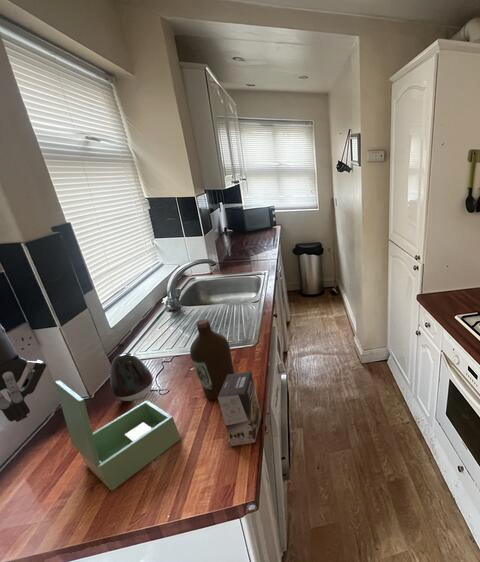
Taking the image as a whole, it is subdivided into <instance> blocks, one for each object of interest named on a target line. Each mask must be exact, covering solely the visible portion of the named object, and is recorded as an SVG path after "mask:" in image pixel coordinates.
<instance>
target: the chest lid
mask: <svg viewBox="0 0 480 562" xmlns="http://www.w3.org/2000/svg"><path fill="white" fill-rule="evenodd" d="M54 385H55V388H56V392H57V396H58V399H59V402H60V406H61V411H62V413H63V417H64V420H65V424H66V429H67V432H68V435H69V438H70V442H71V444H72V445H73V446H74V447H75V448H76V449H77V451H78V452H79V451H80V452H81V453H82V454H83V455H84V456H85V457H86V458H87V459H88V460H89V461H90V462H91V463H92V464H93V465H94V466H96V467H97V466H98V465H100V461H99V457H98V453H97V449H96V445H95V441H94V437H93V430H92V425H91V421H90V418H89V414H88V409H87V406H86V402H85V399H84V398H83V397H81V396H80V395H79V394H78V393H77V392H75V391H74V390H72V389H71V388H70V387H69V386H67V385H66V384H65V383H64V382H62V381H61V380H56V381H54ZM80 452H79V453H80Z"/></svg>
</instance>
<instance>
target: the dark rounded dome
mask: <svg viewBox="0 0 480 562" xmlns="http://www.w3.org/2000/svg"><path fill="white" fill-rule="evenodd" d="M109 379H110V387H111V391H112V394H113V395H114V397H116V398H117V399H119V400H120V401H123V402H133V401H136V400H139V399H142V398H143V397H145V396H146V395H147V394H148V393H149V392H150V391H151V389H152V387H153V384H154V383H153V382H154V376H153V374H152V373H151V371H150V369H149V368H148V367H147V365H146V364H145V362H143V361H142V360H141V358H139V357H137V356H136V355H134V354H132V353H130V352H123V353H120V354H118V355H116V356H115V357H114V358H113V360H112V362H111V365H110V370H109Z"/></svg>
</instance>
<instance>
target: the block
mask: <svg viewBox="0 0 480 562" xmlns="http://www.w3.org/2000/svg"><path fill="white" fill-rule="evenodd" d="M151 429H152V428H151V427H149V426H148V425H147V424H145V423H144V422H143V423H141V424H139V425H138V426H136V427H135V428H133V429H132V430H130V431H129V432H127V433H126V434H124V435H125V437H126V439H127V442H128V444H130V443H132V442H133V441H135V440H136V439H137V438H139V437H140V436H142V435H143V434H145V433H146V432H148V431H149V430H151Z"/></svg>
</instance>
